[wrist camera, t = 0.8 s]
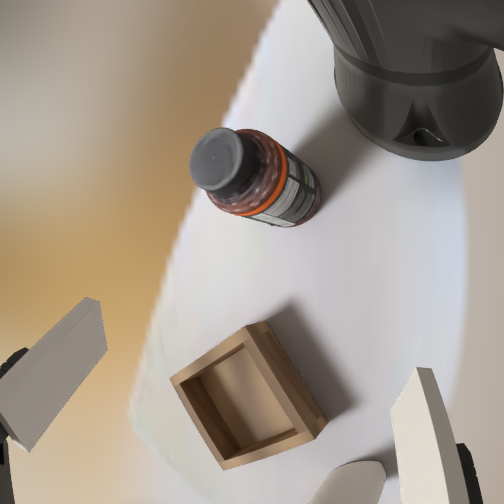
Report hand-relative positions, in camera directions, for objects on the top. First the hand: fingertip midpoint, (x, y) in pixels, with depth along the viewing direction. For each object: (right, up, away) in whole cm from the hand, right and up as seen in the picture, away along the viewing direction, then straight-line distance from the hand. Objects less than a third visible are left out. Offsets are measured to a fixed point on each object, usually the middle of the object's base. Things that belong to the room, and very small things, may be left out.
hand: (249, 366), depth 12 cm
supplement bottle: (+4, +9, +16) cm, 19 cm away
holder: (0, -9, +17) cm, 19 cm away
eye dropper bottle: (+10, -16, +11) cm, 22 cm away
